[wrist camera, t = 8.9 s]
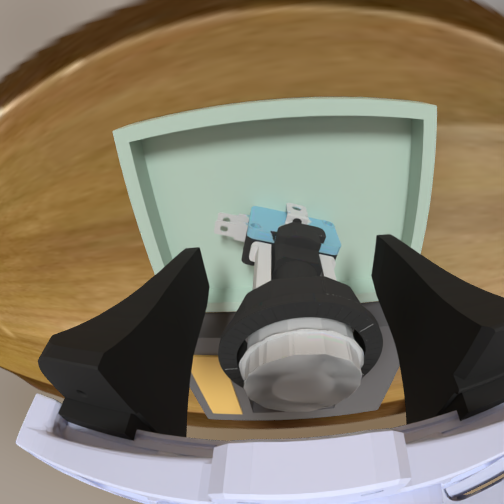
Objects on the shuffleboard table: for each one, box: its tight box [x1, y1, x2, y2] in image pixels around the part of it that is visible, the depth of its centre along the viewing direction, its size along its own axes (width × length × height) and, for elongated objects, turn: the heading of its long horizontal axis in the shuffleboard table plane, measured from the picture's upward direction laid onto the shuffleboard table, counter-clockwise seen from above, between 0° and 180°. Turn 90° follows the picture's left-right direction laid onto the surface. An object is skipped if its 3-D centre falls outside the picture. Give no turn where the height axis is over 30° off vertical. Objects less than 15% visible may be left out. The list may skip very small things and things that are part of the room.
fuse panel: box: [190, 301, 400, 420], centre depth 23 cm, size 18×14×3 cm
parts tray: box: [113, 97, 437, 312], centre depth 15 cm, size 16×12×2 cm
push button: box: [214, 203, 383, 412], centre depth 12 cm, size 7×5×10 cm
